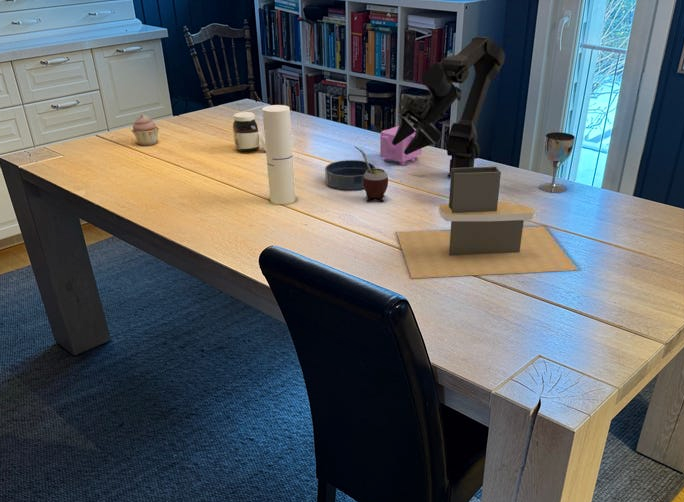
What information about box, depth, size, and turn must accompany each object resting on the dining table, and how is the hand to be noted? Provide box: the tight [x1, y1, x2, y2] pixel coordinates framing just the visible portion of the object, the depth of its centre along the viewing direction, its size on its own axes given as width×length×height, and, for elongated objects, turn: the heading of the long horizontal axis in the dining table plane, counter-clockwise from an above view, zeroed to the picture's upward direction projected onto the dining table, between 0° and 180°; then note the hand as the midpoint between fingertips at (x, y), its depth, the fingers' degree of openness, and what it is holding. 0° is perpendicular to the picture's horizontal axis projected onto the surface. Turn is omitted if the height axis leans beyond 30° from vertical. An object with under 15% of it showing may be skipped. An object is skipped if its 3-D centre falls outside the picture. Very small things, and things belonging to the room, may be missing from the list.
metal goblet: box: [539, 131, 576, 193], centre depth 193 cm, size 8×8×15 cm
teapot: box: [379, 125, 422, 166], centre depth 217 cm, size 15×13×11 cm
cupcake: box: [131, 113, 160, 146], centre depth 234 cm, size 9×9×10 cm
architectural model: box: [396, 166, 579, 279], centre depth 157 cm, size 38×25×20 cm, turn 96°
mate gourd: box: [354, 145, 389, 203], centre depth 187 cm, size 8×8×15 cm
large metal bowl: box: [324, 159, 377, 191], centre depth 202 cm, size 15×15×4 cm
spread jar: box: [232, 111, 266, 154], centre depth 227 cm, size 12×11×12 cm
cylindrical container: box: [261, 104, 297, 205], centre depth 184 cm, size 7×7×25 cm
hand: (398, 148), depth 185 cm, fingers open, 9 cm apart
